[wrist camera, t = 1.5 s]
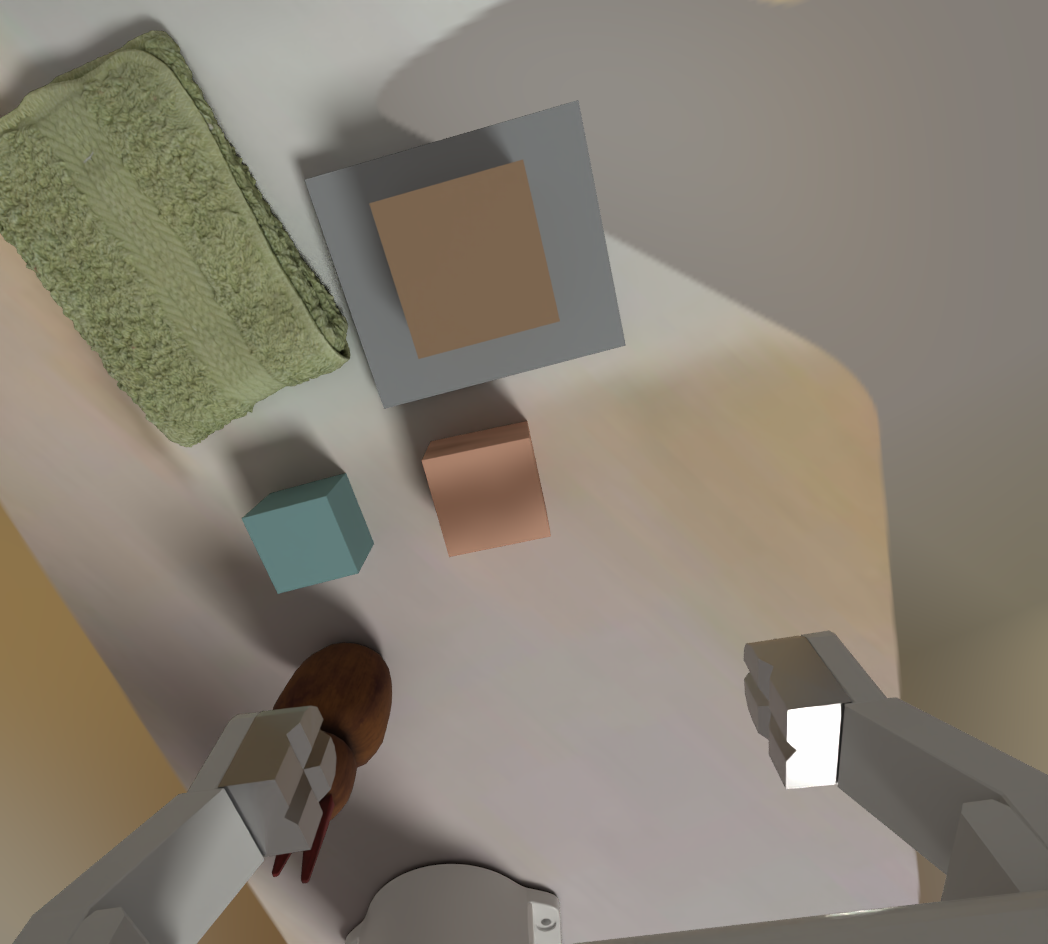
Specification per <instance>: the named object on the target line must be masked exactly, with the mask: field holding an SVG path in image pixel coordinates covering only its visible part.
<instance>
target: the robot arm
mask: <svg viewBox="0 0 1048 944" xmlns="http://www.w3.org/2000/svg"><path fill="white" fill-rule="evenodd" d="M744 662H745V663H746V665H747V667H748V669H749V671H750V672H749V673H748V675H747V676H746V677H745V679H744V686H745V696H746V701H747V706H748V710H749V712H750V715H751V718H752V721H753V723H754V725H755V727H756V729H757V731H758V733H759V734H761V735H762V736H764V737H765V738H767V739H768V740H769V756H770V758H771V760H772V762H773V764H774V766H775V768H776V770H777V772H778V774H779V776H780V778H781V780H782V782H783V784H784V786H785V788H786V789H793V788H803V787H813V786H823V785H833V784H838V787H839V788H840V789H841V790H842V791H843V792H845V793H846V794H847V795H848V796H850V797H851V798H852V799H853V800H855V801H856V802H857V803H858V804H860V805H861V806H862V807H863V808H864V809H866V810H867V811H868V812H869V813H871V814H872V815H873V816H874V817H876V818H877V819H878V820H879V821H880V822H882V823H883V824H884V825H885V826H887V827H888V828H889V829H890V830H892V831H893V832H894V833H895V834H897V835H898V836H899V837H900V838H901V839H903V840H904V841H905V842H906V843H908V844H909V845H910V846H911V847H913V848H914V849H915V850H916V851H918V852H919V853H920V854H921V855H922V856H924V857H925V858H926V859H927V860H929V861H930V862H931V863H932V864H934V865H935V866H936V867H937V868H939V869H940V870H941V871H942V872H943V873H945V874H946V875H947V876H946V880H945V885H944V890H943V894H942V898H941V902H933V903H924V904H915V905H906V906H898V907H889V908H880V909H871V910H863V911H854V912H845V913H837V914H828V915H819V916H810V917H802V918H793V919H784V920H776V921H767V922H758V923H749V924H741V925H732V926H723V927H715V928H706V929H697V930H688V931H680V932H671V933H662V934H654V935H645V936H636V937H627V938H619V939H610V940H601V941H592V942H584V943H575V944H1048V775H1047V774H1045V773H1043V772H1041V771H1039V770H1037V769H1035V768H1033V767H1031V766H1029V765H1027V764H1025V763H1023V762H1021V761H1020V760H1017V759H1016V758H1013V757H1012V756H1010V755H1008V754H1006V753H1004V752H1002V751H1000V750H998V749H996V748H994V747H992V746H990V745H988V744H986V743H984V742H982V741H980V740H978V739H977V738H975V737H973V736H971V735H969V734H967V733H965V732H963V731H961V730H959V729H957V728H955V727H953V726H951V725H949V724H947V723H945V722H943V721H941V720H939V719H937V718H935V717H934V716H931V715H930V714H928V713H926V712H924V711H922V710H920V709H918V708H916V707H914V706H912V705H910V704H908V703H906V702H904V701H902V700H900V699H898V698H887V697H886V696H885V695H884V694H883V692H882V691H881V690H880V689H879V688H878V686H877V685H876V684H875V683H874V681H873V680H872V679H871V678H870V676H869V675H868V674H867V673H866V671H865V670H864V669H863V668H862V667H861V665H860V664H859V663H858V662H857V660H856V659H855V658H854V657H853V655H852V654H851V653H850V652H849V650H848V649H847V648H846V647H845V646H844V644H843V643H842V642H841V641H840V639H839V638H838V637H837V636H836V634H834V633H833V632H831V631H823V632H817V633H811V634H804V635H801V636H793V637H786V638H779V639H773V640H766V641H760V642H753V643H746V645H745V648H744ZM322 722H323V718H322V716H321V714H320V712H319V710H318V708H317V707H315V706H303V707H294V708H286V709H277V710H268V711H262V712H257V713H248V714H238V715H236V716H235V717H234V718H232V719H231V720H230V721H229V722H228V724H227V726H226V728H225V729H224V731H223V733H222V734H221V736H220V738H219V739H218V741H217V743H216V744H215V746H214V748H213V750H212V751H211V753H210V755H209V756H208V758H207V760H206V761H205V763H204V765H203V766H202V768H201V770H200V772H199V773H198V775H197V777H196V778H195V780H194V782H193V783H192V785H191V787H190V788H189V790H188V792H187V793H183V794H178V795H177V796H176V797H175V798H173V799H172V800H171V801H170V802H169V803H168V804H166V805H165V806H164V807H163V808H161V809H160V810H159V811H158V812H157V813H155V814H154V815H153V816H152V817H151V818H149V819H148V820H147V821H146V822H145V823H143V824H142V825H141V826H140V827H138V829H136V830H135V831H134V832H132V833H131V834H130V835H129V836H128V837H127V838H125V839H124V840H123V841H122V842H120V843H119V844H118V845H117V846H116V847H114V848H113V849H112V850H111V851H110V852H108V853H107V854H106V855H105V856H103V857H102V858H101V859H100V860H99V861H97V862H96V863H95V864H94V865H93V866H91V867H90V868H89V869H88V870H87V871H85V872H84V873H83V874H82V875H81V876H80V877H78V878H77V879H76V880H75V881H73V882H72V883H71V884H70V885H69V886H67V887H66V888H65V889H64V890H62V891H61V892H60V893H59V894H58V895H56V896H55V897H54V898H53V899H52V900H50V901H49V902H48V903H47V904H46V905H44V906H43V907H42V908H41V909H40V910H38V911H37V912H36V913H35V914H33V915H32V917H31V918H30V920H29V921H28V923H27V924H26V925H25V927H24V928H23V930H22V931H21V933H20V934H19V935H18V937H17V938H16V939H15V941H14V942H13V944H196V943H197V942H198V941H199V940H200V939H201V938H202V936H203V935H204V934H205V933H206V931H207V930H208V929H209V927H210V926H211V925H212V924H213V923H214V921H215V920H216V919H217V918H218V917H219V915H220V914H221V913H222V912H223V910H224V909H225V908H226V907H227V905H228V904H229V903H230V902H231V901H232V899H233V898H234V897H235V896H236V894H237V893H238V892H239V891H240V889H241V888H242V887H243V886H244V884H245V883H246V882H247V881H248V880H249V878H250V877H251V876H252V875H253V873H254V872H255V871H256V870H257V868H258V867H259V866H260V865H261V864H262V862H263V861H264V857H267V856H273V855H280V854H286V853H292V852H299V851H305V850H311V847H312V844H313V841H314V838H315V835H316V832H317V829H318V826H319V823H320V820H321V817H322V814H323V812H322V809H321V807H320V805H319V801H320V800H321V799H322V798H323V797H324V796H325V795H326V794H327V793H328V792H329V791H330V790H331V787H332V783H333V780H334V777H335V771H336V752H335V746H334V743H333V741H332V738H331V736H329V735H328V734H326V733H325V732H323V731H322V730H320V727H321V724H322ZM345 944H562V935H561V917H560V902H559V899H558V898H557V897H556V896H555V895H553V894H551V893H548V892H544V891H540V890H535V889H530V888H526V887H523V886H521V885H519V884H517V883H515V882H514V881H512V880H510V879H509V878H507V877H505V876H503V875H501V874H499V873H497V872H494V871H491V870H488V869H485V868H481V867H477V866H471V865H463V864H441V865H432V866H427V867H422V868H418V869H415V870H412V871H409V872H407V873H405V874H402V875H400V876H398V877H397V878H395V879H393V880H392V881H390V882H389V883H387V884H386V885H385V886H384V887H383V888H382V889H381V890H380V891H379V892H378V893H377V894H376V895H375V897H374V898H373V900H372V902H371V904H370V906H369V908H368V911H367V914H366V916H365V918H364V920H363V922H362V923H360V924H359V925H358V926H357V927H356V928H354V929H353V930H352V931H351V932H350V933H349V934H348V936H347V937H346V941H345Z"/></svg>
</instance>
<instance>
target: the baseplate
mask: <svg viewBox="0 0 1048 944" xmlns="http://www.w3.org/2000/svg"><path fill="white" fill-rule="evenodd" d="M305 183H306V185H307V188H308V191H309V194H310V197H311V200H312V203H313V206H314V208H315V211H316V214H317V217H318V220H319V223H320V226H321V229H322V231H323V234H324V237H325V240H326V243H327V246H328V249H329V252H330V254H331V257H332V260H333V263H334V266H335V269H336V272H337V275H338V277H339V280H340V283H341V286H342V289H343V292H344V295H345V298H346V300H347V303H348V306H349V309H350V312H351V315H352V318H353V321H354V323H355V326H356V329H357V332H358V335H359V338H360V341H361V344H362V346H363V349H364V352H365V355H366V358H367V361H368V364H369V367H370V369H371V372H372V375H373V378H374V381H375V384H376V387H377V390H378V392H379V395H380V398H381V401H382V404H383V407H384V409H386V408H389V407H393V406H397V405H401V404H405V403H408V402H412V401H416V400H420V399H424V398H427V397H431V396H435V395H439V394H443V393H446V392H450V391H454V390H458V389H462V388H465V387H469V386H473V385H477V384H481V383H484V382H488V381H492V380H496V379H500V378H503V377H507V376H511V375H515V374H519V373H522V372H526V371H530V370H534V369H538V368H541V367H545V366H549V365H553V364H557V363H560V362H564V361H568V360H572V359H576V358H579V357H583V356H587V355H591V354H595V353H598V352H602V351H606V350H610V349H614V348H617V347H621V346H625V340H624V334H623V329H622V324H621V319H620V314H619V309H618V303H617V298H616V293H615V288H614V283H613V277H612V272H611V267H610V262H609V257H608V252H607V246H606V241H605V236H604V231H603V226H602V221H601V215H600V210H599V205H598V201H597V195H596V189H595V184H594V179H593V174H592V169H591V163H590V158H589V153H588V148H587V143H586V138H585V133H584V127H583V122H582V117H581V112H580V107H579V101H578V100H577V101H574V102H570V103H567V104H564V105H560V106H557V107H553V108H550V109H546V110H543V111H539V112H536V113H533V114H529V115H526V116H522V117H519V118H515V119H512V120H508V121H505V122H502V123H498V124H495V125H492V126H488V127H484V128H481V129H477V130H474V131H471V132H467V133H464V134H460V135H457V136H453V137H450V138H446V139H443V140H440V141H436V142H433V143H429V144H426V145H422V146H419V147H416V148H412V149H409V150H405V151H402V152H398V153H395V154H391V155H388V156H385V157H381V158H378V159H374V160H371V161H367V162H364V163H360V164H357V165H354V166H350V167H347V168H343V169H340V170H336V171H333V172H329V173H326V174H323V175H319V176H316V177H312V178H309V179H305Z"/></svg>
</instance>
